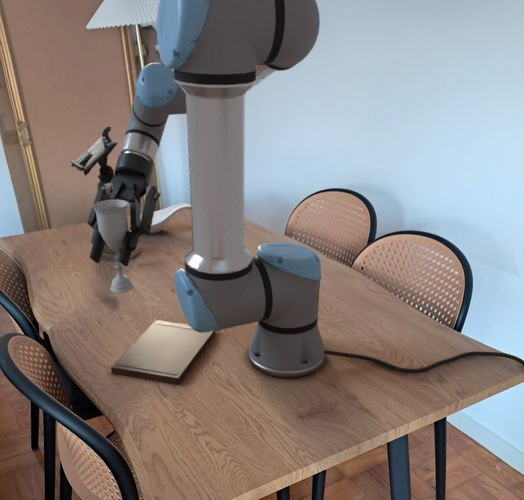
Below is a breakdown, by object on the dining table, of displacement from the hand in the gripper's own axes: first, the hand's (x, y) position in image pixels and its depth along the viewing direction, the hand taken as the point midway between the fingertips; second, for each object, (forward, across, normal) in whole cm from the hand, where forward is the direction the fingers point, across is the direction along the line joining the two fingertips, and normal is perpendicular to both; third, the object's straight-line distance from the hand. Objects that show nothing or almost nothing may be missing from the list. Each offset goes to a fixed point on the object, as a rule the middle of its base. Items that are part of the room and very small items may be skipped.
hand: (108, 261), depth 112 cm
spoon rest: (-36, +18, -59) cm, 71 cm away
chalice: (+3, 0, -8) cm, 8 cm away
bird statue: (-17, +24, -40) cm, 50 cm away
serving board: (+15, -14, -8) cm, 22 cm away
